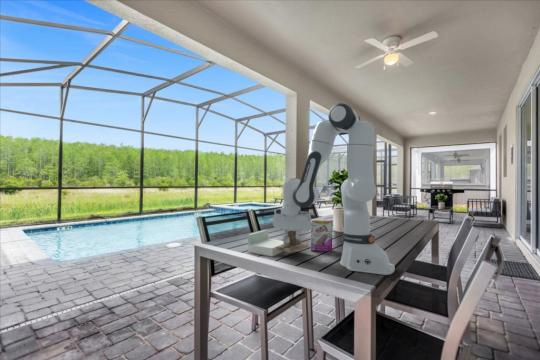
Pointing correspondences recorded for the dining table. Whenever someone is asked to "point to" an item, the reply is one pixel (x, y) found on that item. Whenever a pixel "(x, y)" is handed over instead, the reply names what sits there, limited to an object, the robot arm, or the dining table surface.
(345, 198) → the robot arm
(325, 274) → the dining table surface
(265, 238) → the white l-shaped block
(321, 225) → the candy bar box
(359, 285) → the dining table surface
